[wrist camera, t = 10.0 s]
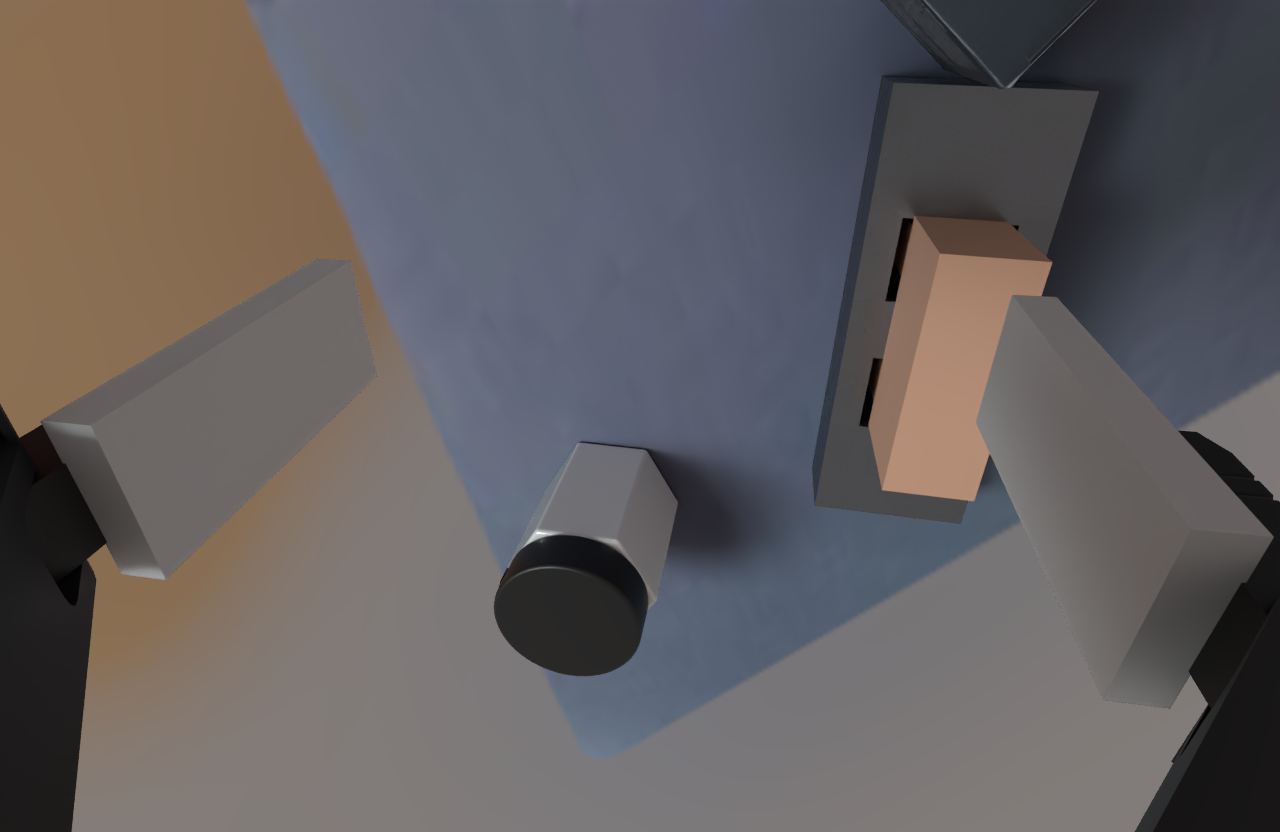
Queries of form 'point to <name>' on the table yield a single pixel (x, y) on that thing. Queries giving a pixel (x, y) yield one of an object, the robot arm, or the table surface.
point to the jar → (589, 563)
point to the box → (988, 33)
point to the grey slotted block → (948, 188)
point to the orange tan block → (945, 350)
